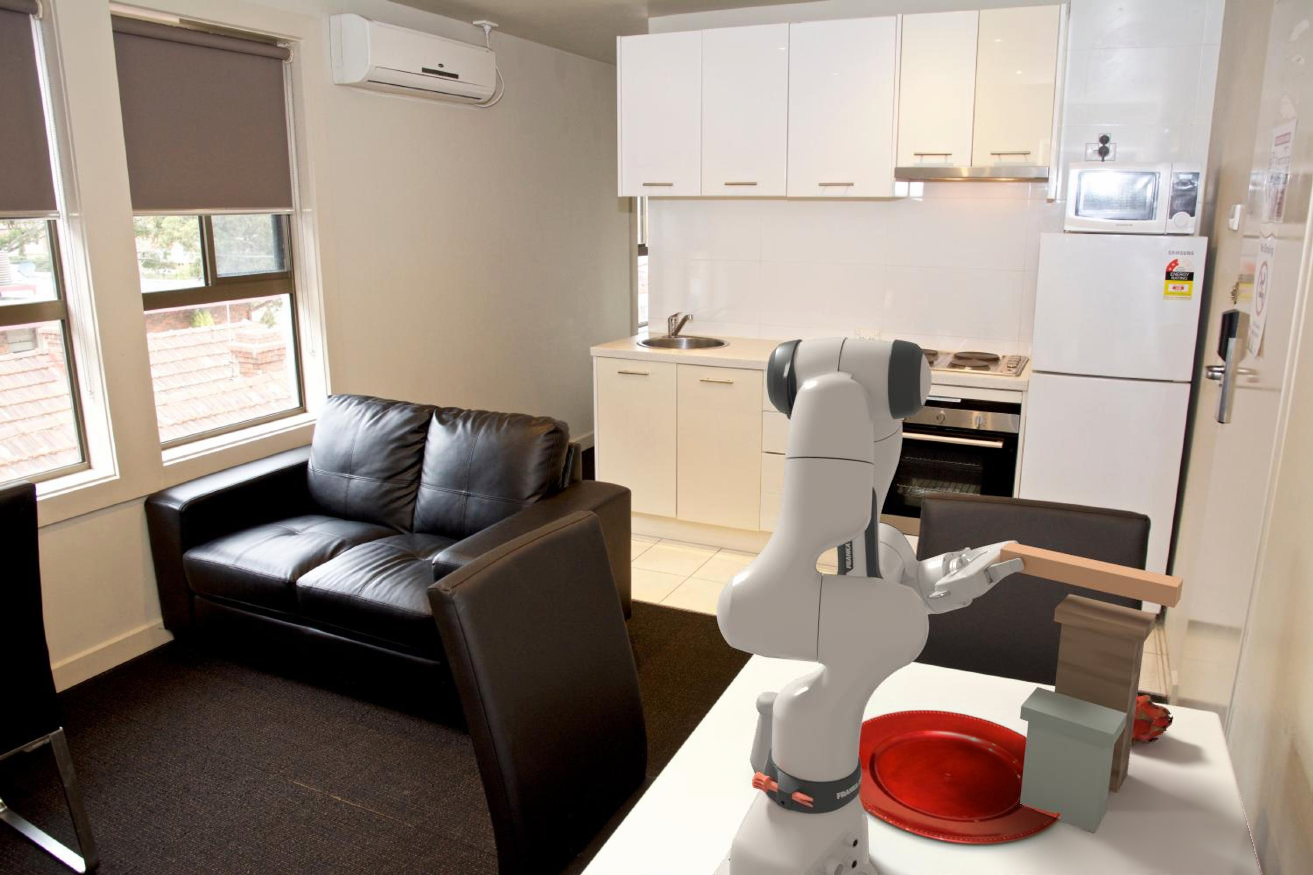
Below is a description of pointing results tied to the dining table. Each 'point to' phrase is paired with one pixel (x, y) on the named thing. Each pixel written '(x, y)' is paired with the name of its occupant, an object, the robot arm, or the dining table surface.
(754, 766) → the salt shaker
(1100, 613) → the tall stand
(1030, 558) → the bar
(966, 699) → the dining table surface
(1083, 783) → the low stand
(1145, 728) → the dragon fruit
